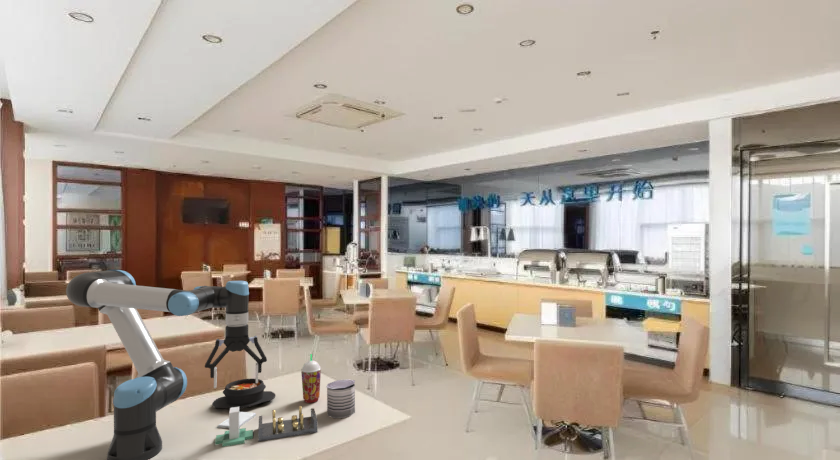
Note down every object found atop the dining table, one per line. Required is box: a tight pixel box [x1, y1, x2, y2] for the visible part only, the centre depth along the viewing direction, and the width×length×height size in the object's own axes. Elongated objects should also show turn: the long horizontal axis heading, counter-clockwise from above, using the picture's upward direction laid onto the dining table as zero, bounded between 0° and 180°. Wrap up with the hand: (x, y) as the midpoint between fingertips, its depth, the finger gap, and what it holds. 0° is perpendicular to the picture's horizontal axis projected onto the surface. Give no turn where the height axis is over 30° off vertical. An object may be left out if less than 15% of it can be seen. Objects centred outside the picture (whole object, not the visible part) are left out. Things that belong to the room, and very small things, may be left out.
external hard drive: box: [216, 411, 257, 429], centre depth 166 cm, size 2×8×12 cm
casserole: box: [211, 378, 276, 410], centre depth 184 cm, size 25×19×8 cm
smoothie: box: [300, 353, 322, 404], centre depth 186 cm, size 8×8×20 cm
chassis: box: [258, 405, 318, 442], centre depth 158 cm, size 20×11×6 cm, turn 110°
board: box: [214, 407, 254, 448], centre depth 152 cm, size 12×10×10 cm
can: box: [326, 378, 356, 419], centre depth 174 cm, size 11×11×12 cm
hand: (236, 384), depth 153 cm, fingers open, 13 cm apart
